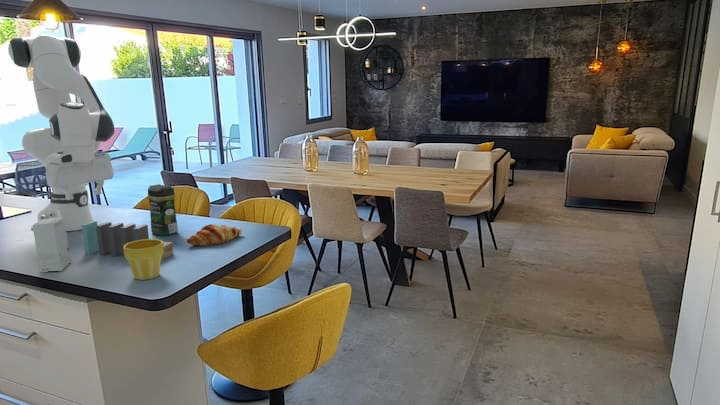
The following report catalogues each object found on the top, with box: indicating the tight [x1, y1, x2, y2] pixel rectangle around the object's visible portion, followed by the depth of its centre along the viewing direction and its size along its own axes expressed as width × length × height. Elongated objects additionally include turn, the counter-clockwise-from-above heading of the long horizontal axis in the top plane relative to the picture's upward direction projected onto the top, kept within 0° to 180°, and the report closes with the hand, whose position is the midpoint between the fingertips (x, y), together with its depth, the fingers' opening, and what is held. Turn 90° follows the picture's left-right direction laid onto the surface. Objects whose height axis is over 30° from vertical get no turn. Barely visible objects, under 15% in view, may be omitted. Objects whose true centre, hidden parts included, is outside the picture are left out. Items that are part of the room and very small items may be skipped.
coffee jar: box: [147, 184, 179, 237], centre depth 176 cm, size 10×8×19 cm
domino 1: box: [81, 220, 99, 255], centre depth 155 cm, size 2×5×10 cm, turn 168°
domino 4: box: [121, 223, 137, 259], centre depth 153 cm, size 2×5×10 cm, turn 168°
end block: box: [161, 241, 174, 261], centre depth 151 cm, size 4×8×4 cm, turn 168°
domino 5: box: [133, 224, 150, 241], centre depth 152 cm, size 2×5×10 cm, turn 168°
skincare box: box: [32, 217, 72, 273], centre depth 140 cm, size 8×6×15 cm
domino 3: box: [108, 222, 125, 258], centre depth 153 cm, size 2×5×10 cm, turn 168°
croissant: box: [186, 223, 243, 247], centre depth 168 cm, size 21×10×8 cm, turn 135°
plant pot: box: [123, 238, 164, 281], centre depth 135 cm, size 10×10×10 cm
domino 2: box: [96, 221, 113, 257], centre depth 154 cm, size 2×5×10 cm, turn 168°
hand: (84, 196), depth 153 cm, fingers open, 8 cm apart
